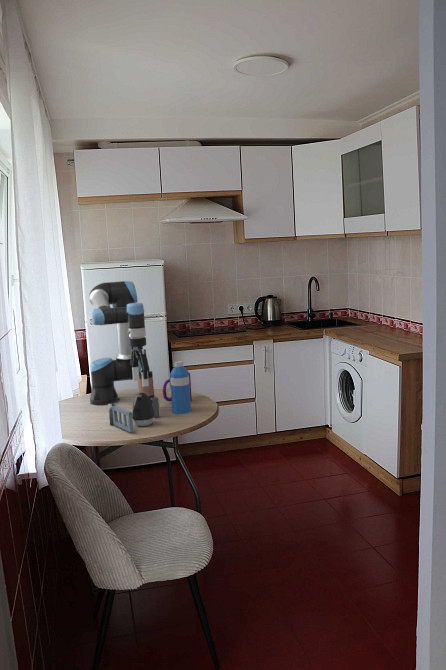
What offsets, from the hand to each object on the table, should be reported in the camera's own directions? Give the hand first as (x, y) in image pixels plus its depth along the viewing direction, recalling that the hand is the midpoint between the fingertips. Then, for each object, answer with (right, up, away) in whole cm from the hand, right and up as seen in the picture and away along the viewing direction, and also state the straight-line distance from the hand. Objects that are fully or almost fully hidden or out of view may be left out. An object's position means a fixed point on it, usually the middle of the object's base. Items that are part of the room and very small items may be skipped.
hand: (140, 383), depth 258 cm
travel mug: (0, -16, +26) cm, 30 cm away
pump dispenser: (+1, -19, +3) cm, 20 cm away
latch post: (+4, -17, +15) cm, 23 cm away
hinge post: (-14, -20, +6) cm, 25 cm away
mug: (+14, -14, +40) cm, 44 cm away
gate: (-7, -20, -3) cm, 21 cm away
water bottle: (+17, -16, +22) cm, 32 cm away
